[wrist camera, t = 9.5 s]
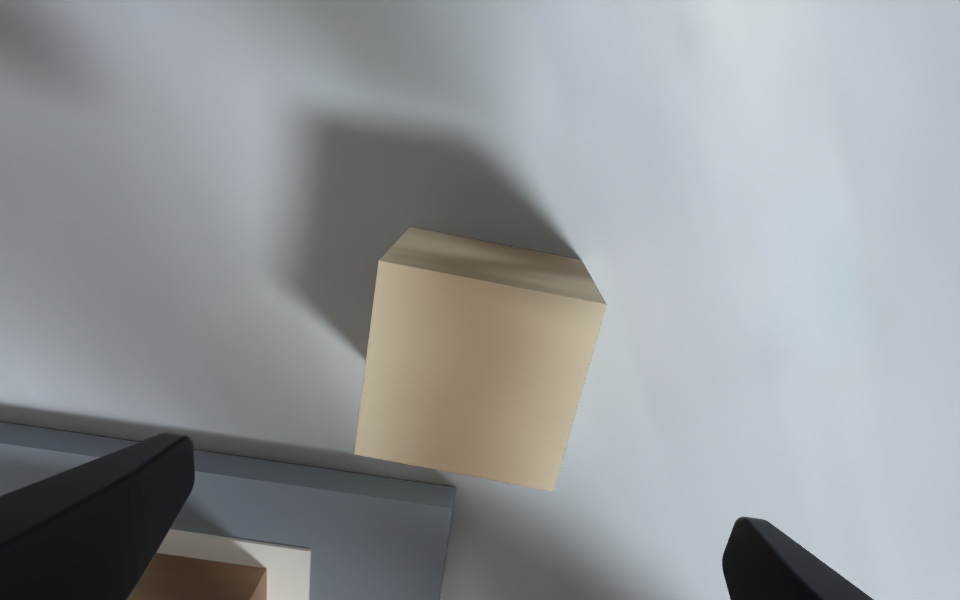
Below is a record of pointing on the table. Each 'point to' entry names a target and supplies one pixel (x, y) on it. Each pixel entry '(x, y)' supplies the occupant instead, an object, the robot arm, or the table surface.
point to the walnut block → (199, 580)
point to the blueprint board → (279, 518)
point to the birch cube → (476, 357)
